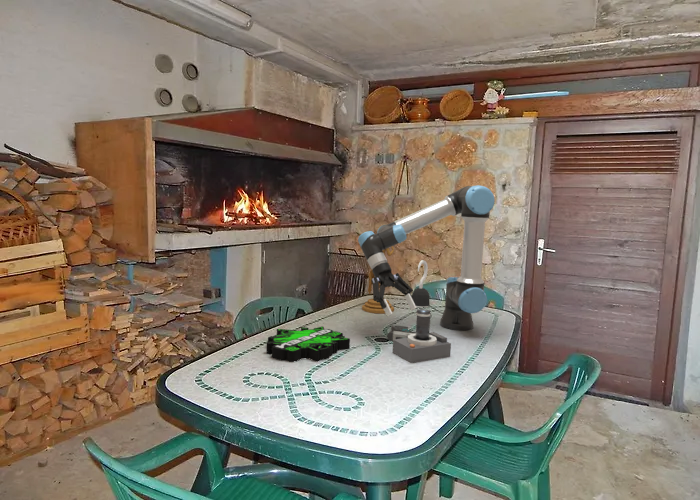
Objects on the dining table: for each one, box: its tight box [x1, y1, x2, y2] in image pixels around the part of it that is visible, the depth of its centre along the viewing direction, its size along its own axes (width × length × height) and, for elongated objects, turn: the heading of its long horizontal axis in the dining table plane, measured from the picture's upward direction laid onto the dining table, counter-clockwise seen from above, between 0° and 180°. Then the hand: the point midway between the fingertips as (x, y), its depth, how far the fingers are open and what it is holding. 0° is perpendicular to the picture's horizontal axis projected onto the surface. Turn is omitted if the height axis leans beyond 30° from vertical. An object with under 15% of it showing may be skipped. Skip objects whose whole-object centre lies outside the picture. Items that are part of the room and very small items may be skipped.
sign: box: [265, 325, 351, 363], centre depth 180 cm, size 33×4×30 cm
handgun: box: [386, 325, 416, 342], centre depth 196 cm, size 4×22×15 cm
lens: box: [415, 308, 432, 341], centre depth 175 cm, size 5×5×12 cm
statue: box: [361, 246, 395, 315], centre depth 242 cm, size 17×17×41 cm
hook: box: [411, 259, 430, 308], centre depth 257 cm, size 11×11×25 cm
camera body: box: [392, 331, 452, 364], centre depth 177 cm, size 18×12×7 cm, turn 118°
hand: (402, 312), depth 186 cm, fingers open, 13 cm apart
